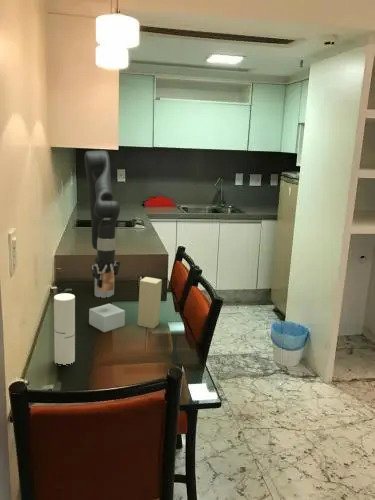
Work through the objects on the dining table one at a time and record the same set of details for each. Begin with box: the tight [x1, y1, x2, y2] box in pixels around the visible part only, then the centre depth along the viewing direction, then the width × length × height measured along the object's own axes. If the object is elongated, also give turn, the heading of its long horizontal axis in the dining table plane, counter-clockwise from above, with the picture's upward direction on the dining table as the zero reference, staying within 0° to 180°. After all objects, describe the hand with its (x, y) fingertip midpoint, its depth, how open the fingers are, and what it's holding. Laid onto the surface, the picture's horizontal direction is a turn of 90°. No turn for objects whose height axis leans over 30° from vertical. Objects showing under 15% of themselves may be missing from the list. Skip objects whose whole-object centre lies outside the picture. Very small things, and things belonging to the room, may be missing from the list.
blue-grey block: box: [88, 302, 126, 333], centre depth 195 cm, size 11×11×7 cm
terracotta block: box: [97, 271, 115, 292], centre depth 191 cm, size 5×5×8 cm
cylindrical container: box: [53, 292, 76, 366], centre depth 160 cm, size 7×7×25 cm
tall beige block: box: [137, 276, 163, 329], centre depth 197 cm, size 8×7×21 cm
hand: (105, 286), depth 192 cm, fingers closed on terracotta block, 5 cm apart
